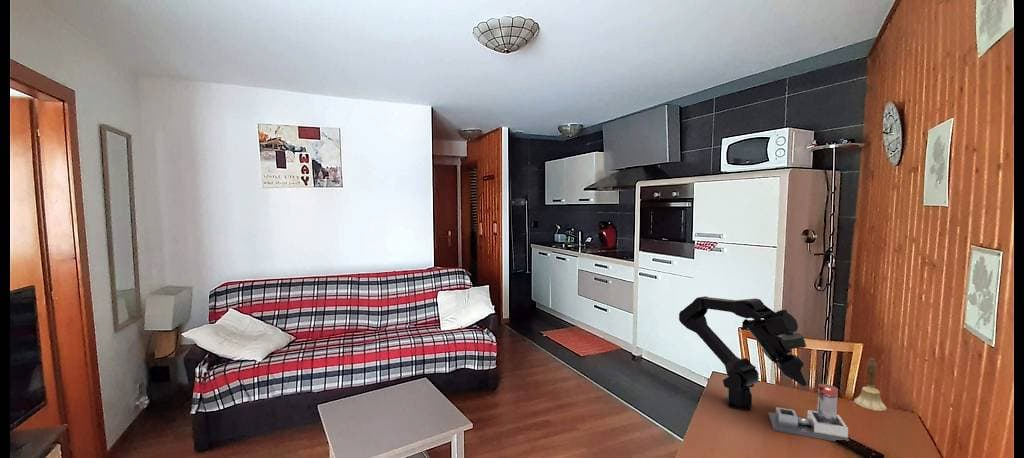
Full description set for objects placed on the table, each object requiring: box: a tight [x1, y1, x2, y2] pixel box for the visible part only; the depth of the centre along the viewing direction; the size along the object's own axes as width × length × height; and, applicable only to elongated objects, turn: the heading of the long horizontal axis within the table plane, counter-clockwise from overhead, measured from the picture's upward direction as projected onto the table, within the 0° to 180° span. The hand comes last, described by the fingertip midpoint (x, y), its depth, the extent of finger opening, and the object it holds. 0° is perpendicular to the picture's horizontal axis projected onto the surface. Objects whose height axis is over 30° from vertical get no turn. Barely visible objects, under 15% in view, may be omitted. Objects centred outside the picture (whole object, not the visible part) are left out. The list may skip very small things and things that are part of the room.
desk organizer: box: [768, 406, 850, 442], centre depth 122 cm, size 18×9×4 cm, turn 66°
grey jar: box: [817, 383, 839, 425], centre depth 120 cm, size 5×5×12 cm
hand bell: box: [853, 357, 888, 412], centre depth 135 cm, size 8×8×16 cm
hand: (799, 379), depth 126 cm, fingers open, 9 cm apart
